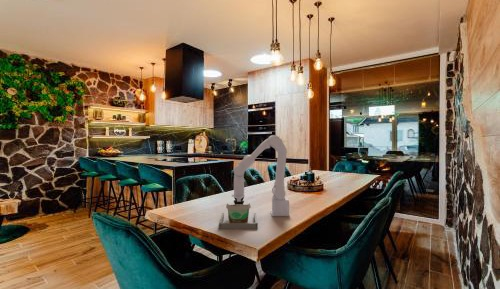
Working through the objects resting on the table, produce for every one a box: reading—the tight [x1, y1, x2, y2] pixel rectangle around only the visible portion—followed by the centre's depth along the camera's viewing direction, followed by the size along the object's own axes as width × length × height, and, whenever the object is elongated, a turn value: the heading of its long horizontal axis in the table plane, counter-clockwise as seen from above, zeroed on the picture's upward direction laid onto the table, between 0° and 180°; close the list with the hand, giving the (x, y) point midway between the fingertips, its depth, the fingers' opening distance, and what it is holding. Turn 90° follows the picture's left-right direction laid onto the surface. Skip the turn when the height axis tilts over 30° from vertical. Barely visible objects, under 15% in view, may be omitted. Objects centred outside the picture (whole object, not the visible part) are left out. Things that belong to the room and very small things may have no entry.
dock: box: [218, 212, 259, 230], centre depth 128 cm, size 18×17×2 cm
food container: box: [225, 202, 251, 223], centre depth 126 cm, size 12×6×10 cm, turn 92°
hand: (239, 211), depth 142 cm, fingers open, 7 cm apart
